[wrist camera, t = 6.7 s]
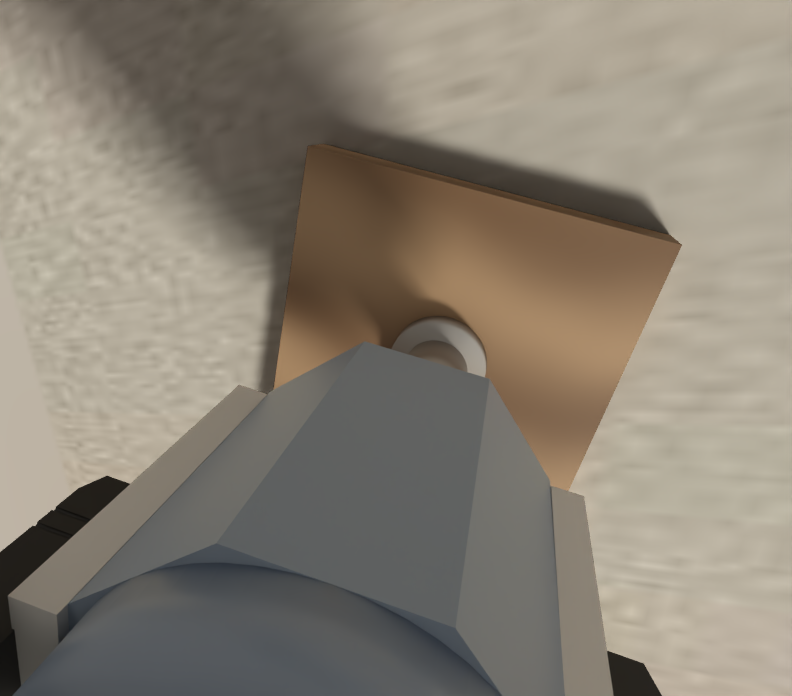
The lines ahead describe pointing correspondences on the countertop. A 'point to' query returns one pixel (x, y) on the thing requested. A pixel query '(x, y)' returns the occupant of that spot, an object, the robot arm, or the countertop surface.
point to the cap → (336, 553)
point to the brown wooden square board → (472, 290)
